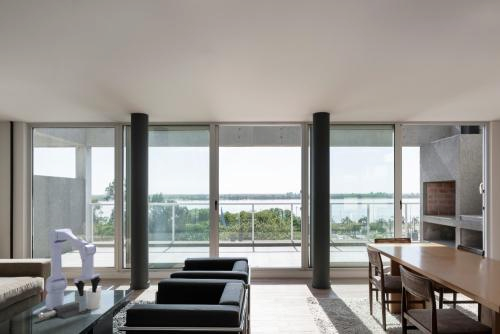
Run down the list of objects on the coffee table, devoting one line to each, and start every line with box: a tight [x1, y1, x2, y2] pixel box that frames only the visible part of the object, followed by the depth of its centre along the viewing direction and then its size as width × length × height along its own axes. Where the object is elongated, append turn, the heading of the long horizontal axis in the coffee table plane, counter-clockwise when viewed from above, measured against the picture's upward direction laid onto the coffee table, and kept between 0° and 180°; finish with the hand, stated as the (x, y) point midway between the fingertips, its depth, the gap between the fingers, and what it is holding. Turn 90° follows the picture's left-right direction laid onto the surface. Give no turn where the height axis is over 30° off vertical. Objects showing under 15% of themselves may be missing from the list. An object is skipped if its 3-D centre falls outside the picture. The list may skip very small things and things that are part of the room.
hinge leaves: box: [48, 301, 87, 319], centre depth 198 cm, size 12×16×4 cm
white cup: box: [85, 287, 102, 310], centre depth 207 cm, size 8×8×10 cm
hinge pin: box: [37, 310, 57, 321], centre depth 192 cm, size 14×4×4 cm, turn 150°
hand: (87, 294), depth 195 cm, fingers open, 7 cm apart
